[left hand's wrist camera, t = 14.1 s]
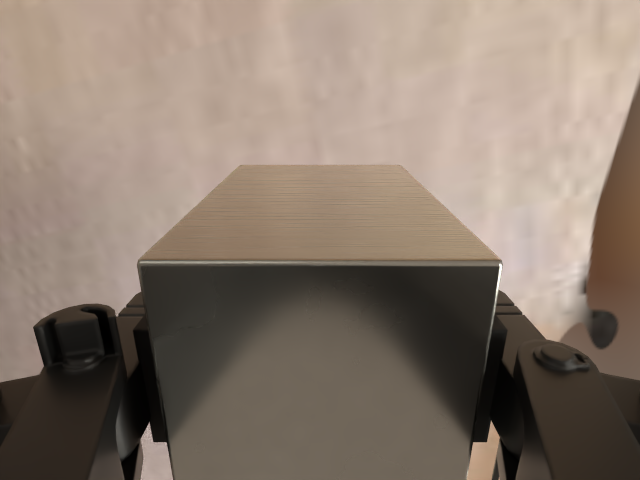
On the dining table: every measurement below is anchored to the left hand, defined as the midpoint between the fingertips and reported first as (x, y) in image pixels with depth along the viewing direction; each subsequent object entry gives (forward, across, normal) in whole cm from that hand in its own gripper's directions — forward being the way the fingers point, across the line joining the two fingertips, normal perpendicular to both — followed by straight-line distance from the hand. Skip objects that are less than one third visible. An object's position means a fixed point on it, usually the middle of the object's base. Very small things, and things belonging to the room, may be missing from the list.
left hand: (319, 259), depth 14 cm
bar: (+1, 0, -8) cm, 8 cm away
